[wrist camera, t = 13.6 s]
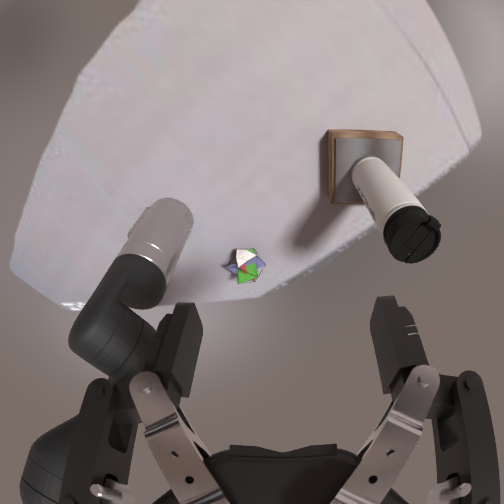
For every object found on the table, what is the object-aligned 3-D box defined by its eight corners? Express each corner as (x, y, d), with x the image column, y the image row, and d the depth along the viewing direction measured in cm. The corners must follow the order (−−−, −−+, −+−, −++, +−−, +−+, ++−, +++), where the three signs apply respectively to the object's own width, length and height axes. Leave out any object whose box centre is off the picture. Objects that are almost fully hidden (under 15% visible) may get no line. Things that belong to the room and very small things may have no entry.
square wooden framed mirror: (328, 194, 49) (331, 205, 46) (328, 129, 42) (332, 135, 39) (390, 194, 48) (397, 204, 45) (395, 131, 41) (404, 137, 37)
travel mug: (394, 164, 40) (454, 233, 25) (373, 196, 44) (418, 276, 28) (363, 146, 39) (418, 207, 23) (343, 180, 43) (380, 257, 27)
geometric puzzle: (273, 275, 59) (261, 280, 51) (244, 285, 61) (228, 291, 53) (261, 242, 59) (248, 242, 52) (233, 253, 62) (216, 255, 54)
